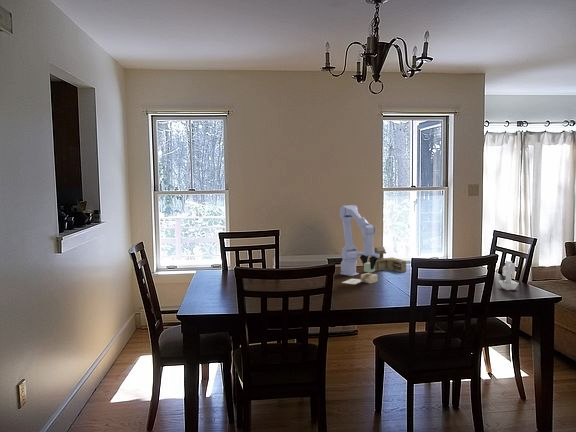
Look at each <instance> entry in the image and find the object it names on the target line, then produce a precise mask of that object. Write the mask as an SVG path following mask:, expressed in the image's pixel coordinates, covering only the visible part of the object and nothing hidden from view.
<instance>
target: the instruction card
mask: <svg viewBox="0 0 576 432" xmlns="http://www.w3.org/2000/svg"><path fill="white" fill-rule="evenodd" d="M341 283H342V284H346V285H347V284H349V285H357V284H360V283H362V282H361V278H350V279H346V280H345V281H341Z"/></svg>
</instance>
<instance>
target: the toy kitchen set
mask: <svg viewBox="0 0 576 432" xmlns="http://www.w3.org/2000/svg"><path fill="white" fill-rule="evenodd" d="M374 253H376V254H380V257H379V258H378V259H377V260H376V263H375V271H374V272H377V271H384V270H385V271H396V272H399V273H406V272H407V261H406V260H403V259H399V258H396V257H384V254H385V255H386V254H387V252H386V249H385V247H384V246H374ZM367 262H370V260H369V259H368V260H367Z"/></svg>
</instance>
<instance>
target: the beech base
mask: <svg viewBox="0 0 576 432" xmlns="http://www.w3.org/2000/svg"><path fill="white" fill-rule="evenodd" d="M378 276H379V275H378V274H376V273H372V272H365V273H362V274H360V280H361V282H360V283H367V284H373V283H377V282H378V281H379V279H378V278H379V277H378Z"/></svg>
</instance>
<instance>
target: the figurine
mask: <svg viewBox="0 0 576 432" xmlns="http://www.w3.org/2000/svg"><path fill="white" fill-rule="evenodd" d="M515 273H516V264H515V263H513V261H512V260H505V264H504V266H502V276H503V277H505V279H504V280H498V282H499V284H500V286H501V288H502V289H504V290H506V291H510V290H511V291H513V290H516V288H517V287H518V286H519V282H517V281H515V280H512V275H513V274H515Z"/></svg>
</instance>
